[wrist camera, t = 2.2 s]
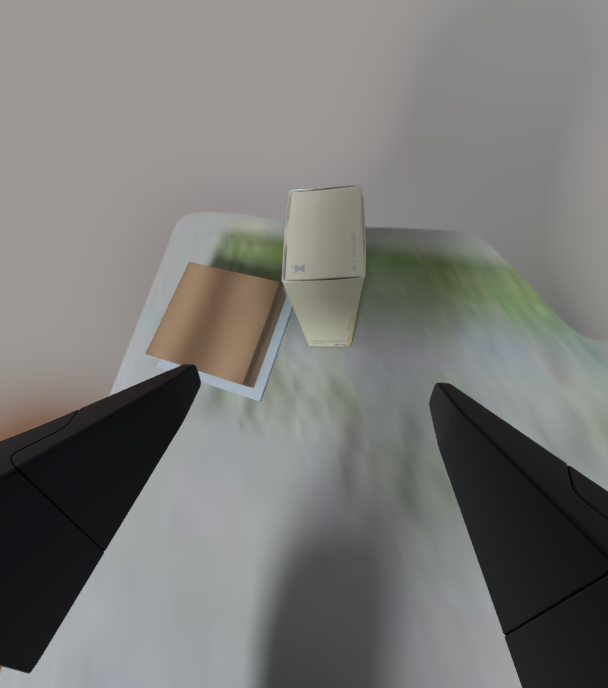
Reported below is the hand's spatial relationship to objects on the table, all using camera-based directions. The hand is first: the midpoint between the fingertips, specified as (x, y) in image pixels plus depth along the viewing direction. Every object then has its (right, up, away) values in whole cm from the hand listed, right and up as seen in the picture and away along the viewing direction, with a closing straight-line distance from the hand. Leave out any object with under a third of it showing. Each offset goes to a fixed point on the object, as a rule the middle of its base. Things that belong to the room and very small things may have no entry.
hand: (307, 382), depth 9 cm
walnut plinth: (-8, +3, +16) cm, 18 cm away
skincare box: (+2, +4, +15) cm, 16 cm away
